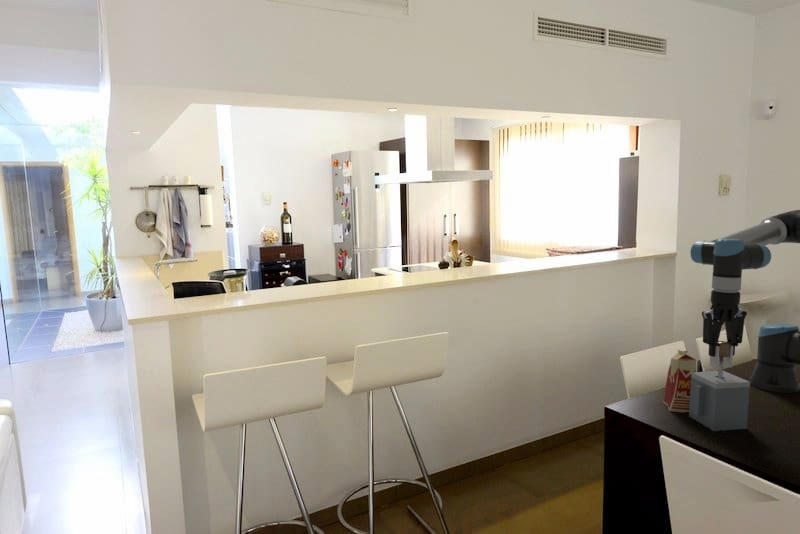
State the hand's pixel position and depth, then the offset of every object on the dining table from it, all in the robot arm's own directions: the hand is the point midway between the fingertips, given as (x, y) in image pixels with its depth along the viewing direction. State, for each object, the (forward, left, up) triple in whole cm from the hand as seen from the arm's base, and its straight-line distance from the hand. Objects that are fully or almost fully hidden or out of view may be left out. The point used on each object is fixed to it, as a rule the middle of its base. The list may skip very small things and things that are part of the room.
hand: (720, 366), depth 167 cm
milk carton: (+3, -13, -18) cm, 23 cm away
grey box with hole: (0, 0, -18) cm, 18 cm away
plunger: (0, 0, -17) cm, 17 cm away
